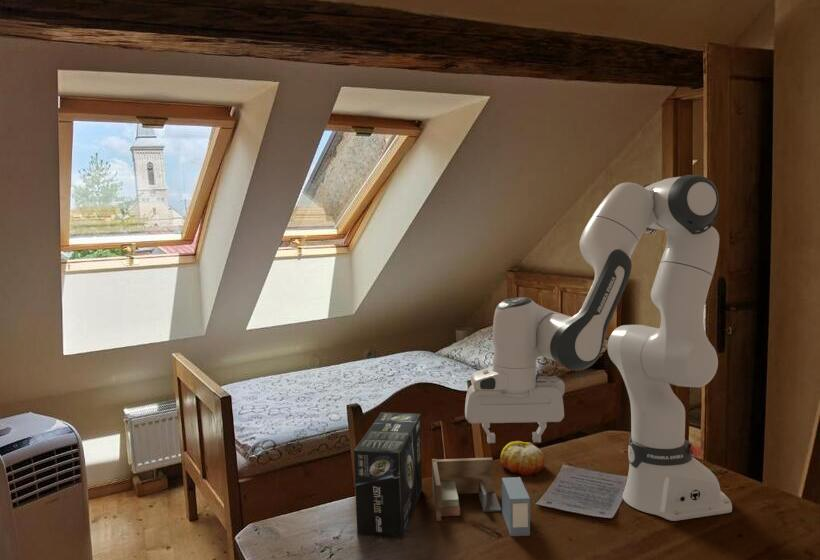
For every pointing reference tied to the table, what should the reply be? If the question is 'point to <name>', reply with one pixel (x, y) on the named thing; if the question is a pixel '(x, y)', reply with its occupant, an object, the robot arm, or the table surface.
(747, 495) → the table surface
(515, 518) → the book
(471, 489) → the shelf
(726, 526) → the table surface
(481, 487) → the bookend
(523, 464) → the fruit
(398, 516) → the box
